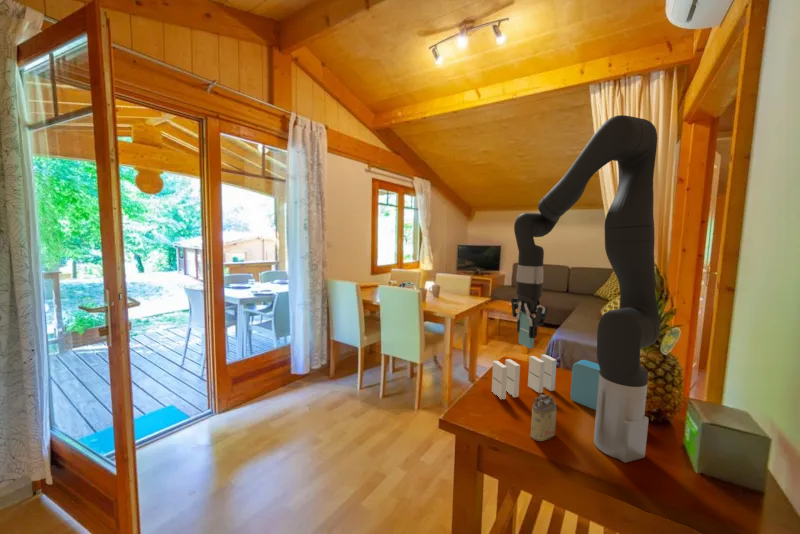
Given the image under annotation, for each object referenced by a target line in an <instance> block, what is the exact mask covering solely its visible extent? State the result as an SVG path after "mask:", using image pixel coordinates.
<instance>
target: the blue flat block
mask: <svg viewBox="0 0 800 534" xmlns="http://www.w3.org/2000/svg"><path fill="white" fill-rule="evenodd" d="M599 371H600V367H599V364H598V362H597V363H596V362H593V361H590V360H586V359H581V360H579V361H577V362H575V363H573V365H572V371H571V386H570V399H571V400H572V401H573V402H575V403H577V404H579V405H582V406H585V407H587V408H590V409H592V410H594V411H596V406H597V394H598V382H599Z"/></svg>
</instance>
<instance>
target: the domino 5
mask: <svg viewBox="0 0 800 534" xmlns="http://www.w3.org/2000/svg"><path fill="white" fill-rule="evenodd" d="M540 359H541V360H542V361H544V362H545V366H544V382H543V388H544V389H546V390H548V391H549V392H553V391H555V389H556V375H557V374H556V373H557V359H555V358H553V357H551V356H550V355H547V354H540Z"/></svg>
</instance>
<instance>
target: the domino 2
mask: <svg viewBox="0 0 800 534" xmlns="http://www.w3.org/2000/svg"><path fill="white" fill-rule="evenodd" d="M504 365H505V366H507V384H506V391H507V392H508V395H510V396H511V395H512V396H511V397H512V398H518V397H519V392H520V375H521V374H520V373H521V365H520V364H519V363H517V362H516V361H514V360H512V359H511V358H507V359H505V362H504ZM507 392H506V393H507Z"/></svg>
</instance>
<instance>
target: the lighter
mask: <svg viewBox="0 0 800 534" xmlns="http://www.w3.org/2000/svg"><path fill="white" fill-rule="evenodd" d="M554 399H555V397H554V396H549V394H542V393H540V394H539V396H538V397H534V403H533V404H532V408H531V422H530V423H531V424H530V425H531V426H530V438H531V439H532V440H534V441H537V442H543V441H546V440H551V438H553V437H554V436H556V423H557V422H556V421H557V408H558V407H557V403H556V402H555V401H554Z"/></svg>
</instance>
